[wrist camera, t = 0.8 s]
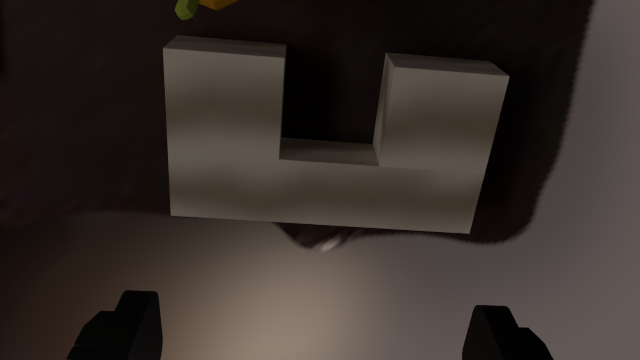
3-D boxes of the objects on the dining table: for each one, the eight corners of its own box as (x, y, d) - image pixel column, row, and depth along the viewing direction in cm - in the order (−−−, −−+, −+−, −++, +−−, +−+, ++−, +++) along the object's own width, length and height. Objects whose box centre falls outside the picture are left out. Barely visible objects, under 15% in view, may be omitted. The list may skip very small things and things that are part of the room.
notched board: (177, 35, 36) (163, 48, 32) (489, 61, 37) (509, 76, 33) (182, 189, 41) (171, 215, 37) (455, 207, 42) (469, 233, 39)
